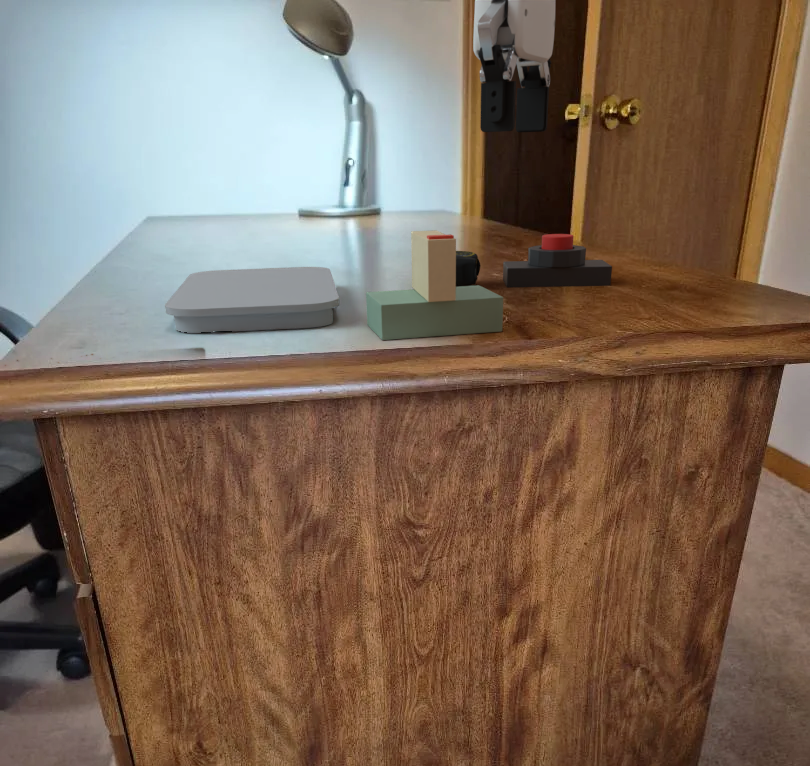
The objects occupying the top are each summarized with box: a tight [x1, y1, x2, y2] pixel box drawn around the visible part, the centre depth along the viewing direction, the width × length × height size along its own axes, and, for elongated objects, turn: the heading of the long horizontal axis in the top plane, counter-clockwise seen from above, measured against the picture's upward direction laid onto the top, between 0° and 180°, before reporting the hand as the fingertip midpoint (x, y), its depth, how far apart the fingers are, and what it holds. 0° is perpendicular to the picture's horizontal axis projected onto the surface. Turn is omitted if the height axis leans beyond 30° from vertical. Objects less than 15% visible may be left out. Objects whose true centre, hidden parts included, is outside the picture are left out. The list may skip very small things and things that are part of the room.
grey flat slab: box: [164, 266, 340, 334], centre depth 84 cm, size 16×26×2 cm, turn 7°
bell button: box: [541, 233, 575, 250], centre depth 92 cm, size 4×4×2 cm
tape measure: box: [456, 250, 481, 286], centre depth 93 cm, size 7×7×4 cm
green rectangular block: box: [365, 284, 504, 341], centre depth 72 cm, size 11×7×3 cm, turn 103°
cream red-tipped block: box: [410, 229, 457, 302], centre depth 70 cm, size 8×2×5 cm, turn 10°
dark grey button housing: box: [502, 244, 613, 288], centre depth 93 cm, size 12×6×4 cm, turn 88°
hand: (515, 131), depth 77 cm, fingers open, 9 cm apart
